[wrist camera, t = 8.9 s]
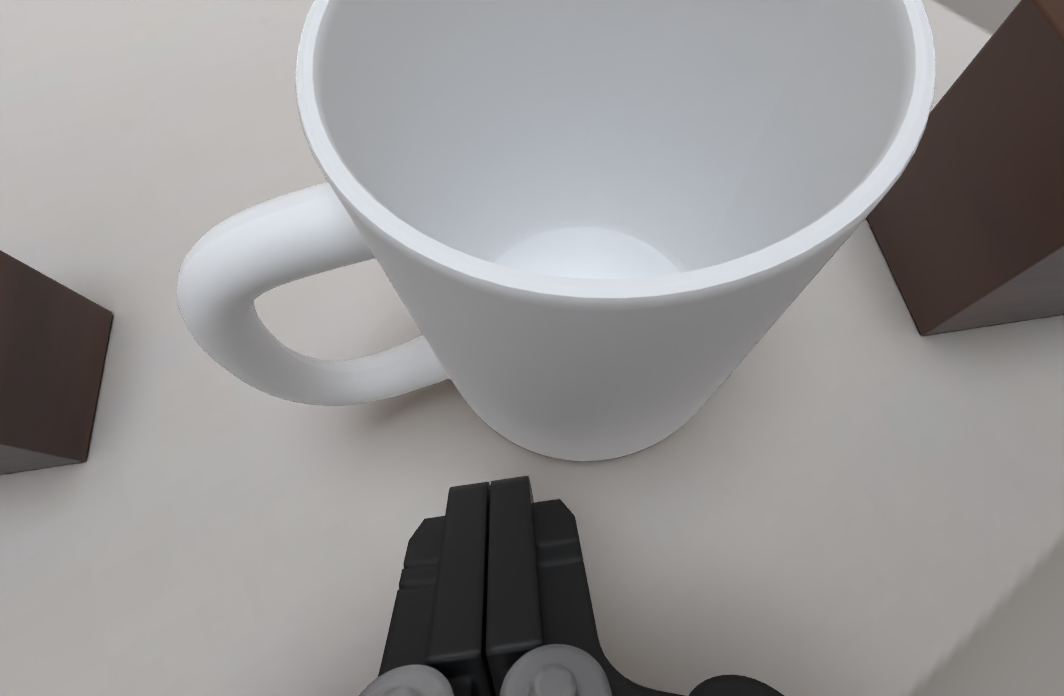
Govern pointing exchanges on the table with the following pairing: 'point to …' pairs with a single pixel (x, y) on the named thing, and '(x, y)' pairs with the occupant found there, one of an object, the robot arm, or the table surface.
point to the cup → (570, 197)
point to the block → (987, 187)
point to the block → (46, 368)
